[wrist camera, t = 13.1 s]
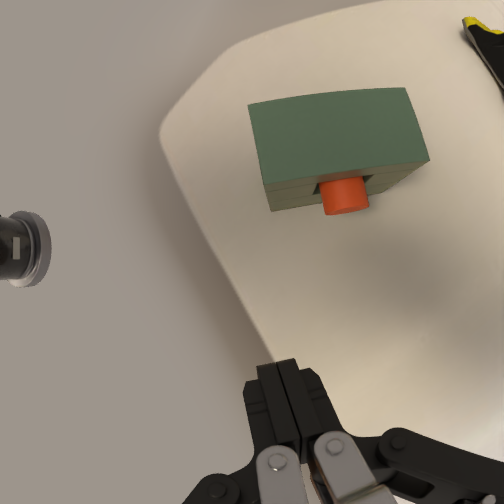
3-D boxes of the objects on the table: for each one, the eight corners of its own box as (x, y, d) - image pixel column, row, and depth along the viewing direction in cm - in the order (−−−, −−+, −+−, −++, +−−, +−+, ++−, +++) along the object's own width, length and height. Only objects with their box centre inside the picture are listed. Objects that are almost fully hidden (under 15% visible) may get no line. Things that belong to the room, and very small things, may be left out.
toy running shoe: (503, 117, 28) (534, 107, 28) (524, 103, 23) (553, 95, 22) (447, 32, 29) (484, 30, 28) (461, 11, 24) (498, 13, 23)
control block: (381, 192, 30) (430, 160, 18) (271, 211, 32) (263, 185, 20) (368, 140, 31) (405, 87, 19) (260, 156, 32) (247, 104, 20)
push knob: (363, 210, 25) (374, 203, 21) (322, 217, 25) (328, 211, 22) (355, 176, 25) (365, 164, 22) (315, 182, 25) (319, 171, 22)
